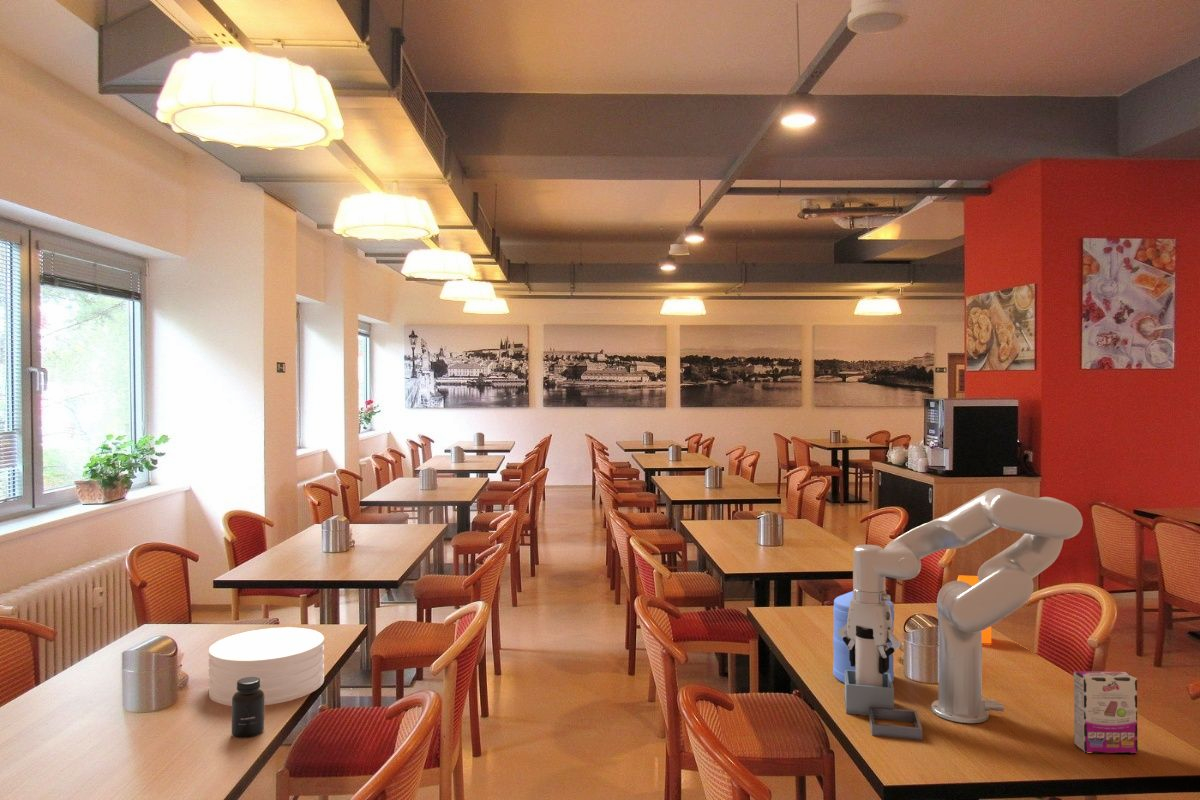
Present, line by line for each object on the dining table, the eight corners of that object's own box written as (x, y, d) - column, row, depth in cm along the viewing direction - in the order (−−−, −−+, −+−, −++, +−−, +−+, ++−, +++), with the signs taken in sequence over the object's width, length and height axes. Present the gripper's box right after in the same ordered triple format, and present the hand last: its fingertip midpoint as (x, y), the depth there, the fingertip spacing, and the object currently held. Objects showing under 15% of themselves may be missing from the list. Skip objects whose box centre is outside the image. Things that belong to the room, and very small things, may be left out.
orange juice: (953, 635, 258) (954, 572, 257) (983, 636, 256) (983, 573, 256) (961, 643, 250) (961, 578, 249) (991, 644, 249) (992, 579, 248)
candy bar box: (1124, 744, 178) (1125, 670, 178) (1138, 755, 173) (1139, 678, 173) (1072, 743, 179) (1072, 669, 179) (1084, 754, 174) (1085, 677, 174)
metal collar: (916, 721, 191) (916, 711, 191) (922, 740, 181) (922, 729, 181) (868, 717, 193) (868, 706, 193) (872, 735, 183) (872, 724, 183)
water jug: (874, 693, 208) (875, 584, 208) (821, 677, 220) (821, 574, 220) (905, 679, 219) (905, 575, 218) (853, 664, 230) (853, 566, 230)
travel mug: (887, 702, 200) (886, 621, 200) (876, 710, 195) (875, 627, 195) (862, 696, 204) (862, 616, 204) (851, 704, 199) (850, 622, 199)
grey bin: (889, 701, 203) (889, 673, 203) (893, 718, 193) (894, 688, 193) (844, 697, 206) (844, 669, 206) (846, 713, 196) (846, 684, 195)
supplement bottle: (243, 741, 180) (243, 687, 180) (225, 734, 183) (224, 681, 183) (270, 730, 186) (270, 678, 185) (252, 724, 189) (252, 672, 189)
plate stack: (204, 713, 196) (203, 666, 196) (213, 675, 222) (213, 633, 222) (326, 697, 206) (326, 652, 206) (321, 663, 232) (321, 623, 232)
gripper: (910, 599, 196) (910, 673, 196) (843, 587, 208) (843, 657, 208) (896, 605, 190) (896, 681, 191) (829, 592, 202) (829, 664, 203)
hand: (868, 668), depth 199 cm, fingers open, 6 cm apart
